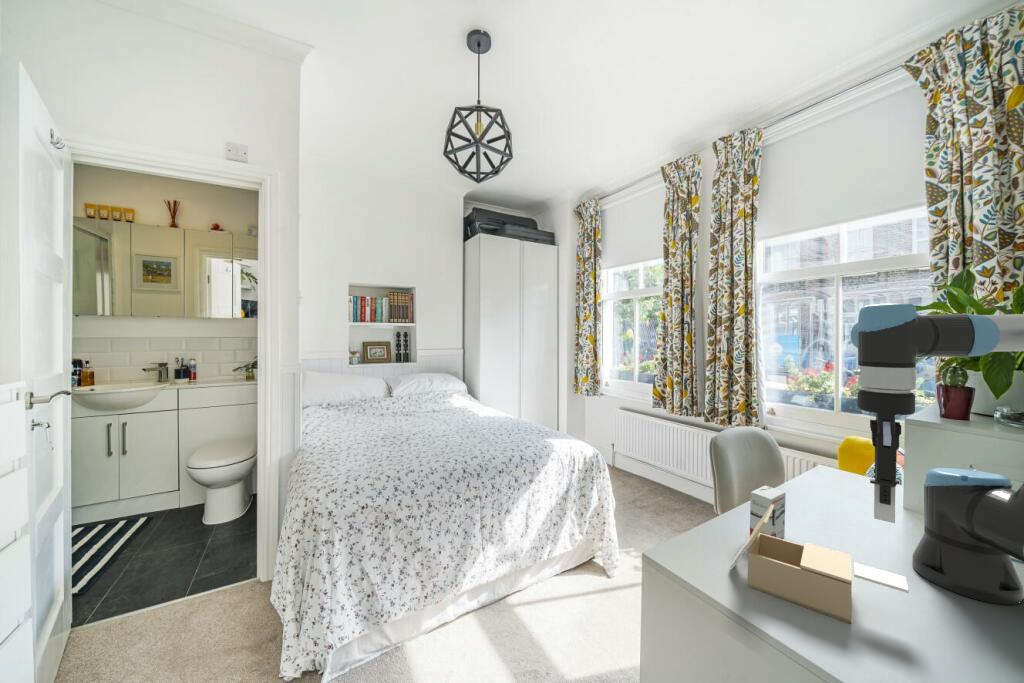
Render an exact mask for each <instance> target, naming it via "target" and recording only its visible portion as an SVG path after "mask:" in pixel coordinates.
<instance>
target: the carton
mask: <svg viewBox="0 0 1024 683" xmlns="http://www.w3.org/2000/svg"><path fill="white" fill-rule="evenodd" d="M803 549H804V544H801V543H799V542H794V541H790V540H787V539H783V538H781V539H780V538H777V537H773V536H770V535H766V534H763V533H759V534H758V536H757V537H756V539H755V540H754V541H753V543H752V544H751V546H750V547H749V549H748V553H747V555H748V556H747V569H748V570H747V587H748V588H750V589H754V590H756V591H759V592H762V593H765V594H767V595H771V596H773V597H775V598H778V599H782V600H784V601H786V602H789V603H791V604H792V603H793V604H795V605H798V606H800V607H803V608H806V609H809V610H811V611H813V612H817V613H819V614H822V615H824V616H828V617H830V618H834V619H836V620H839V621H841V622H844V623H846V624H850V625H852V593H853V592H852V583H849V582H845V581H842V580H839V579H836V578H833V577H830V576H826V575H823V574H820V573H817V572H814V571H810V570H807V569H804V568H801V567H800V564H801V559H802V554H803Z"/></svg>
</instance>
